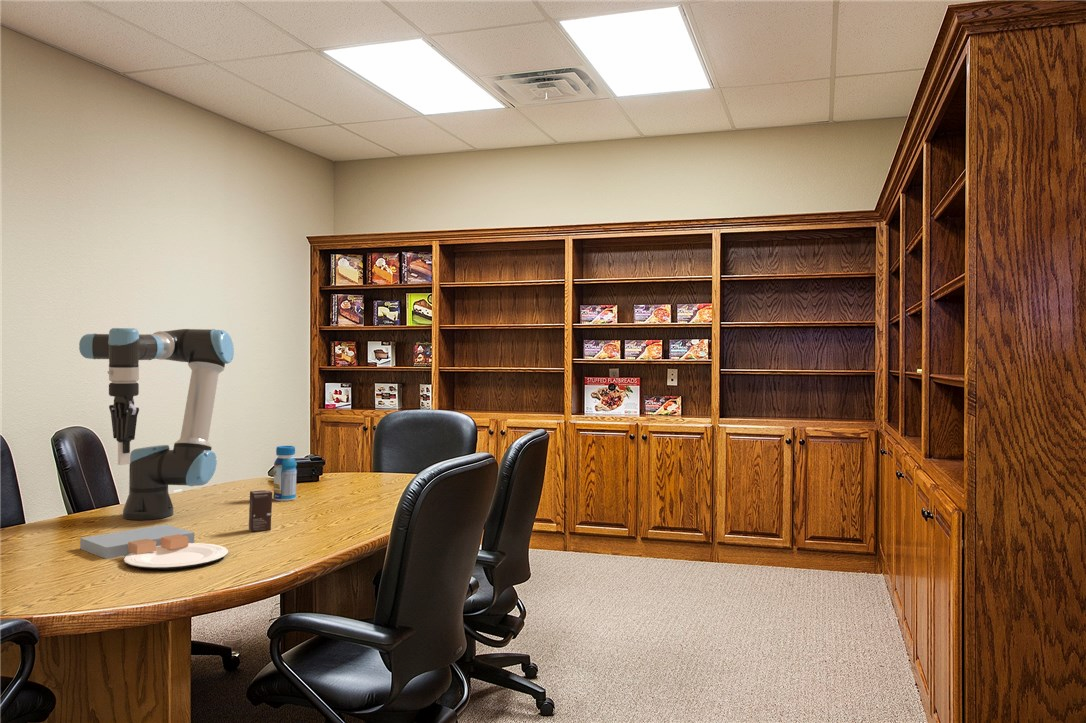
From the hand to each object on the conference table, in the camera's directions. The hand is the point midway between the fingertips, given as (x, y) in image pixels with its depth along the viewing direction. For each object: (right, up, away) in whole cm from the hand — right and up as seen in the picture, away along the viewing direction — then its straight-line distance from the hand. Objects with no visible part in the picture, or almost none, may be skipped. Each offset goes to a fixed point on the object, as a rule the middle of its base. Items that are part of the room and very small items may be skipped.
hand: (123, 464), depth 221 cm
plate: (+23, -24, -17) cm, 37 cm away
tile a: (+19, -21, -9) cm, 30 cm away
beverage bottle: (+22, -23, +71) cm, 78 cm away
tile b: (+13, -21, -15) cm, 29 cm away
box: (+32, -23, +19) cm, 44 cm away
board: (+6, -23, -4) cm, 24 cm away
